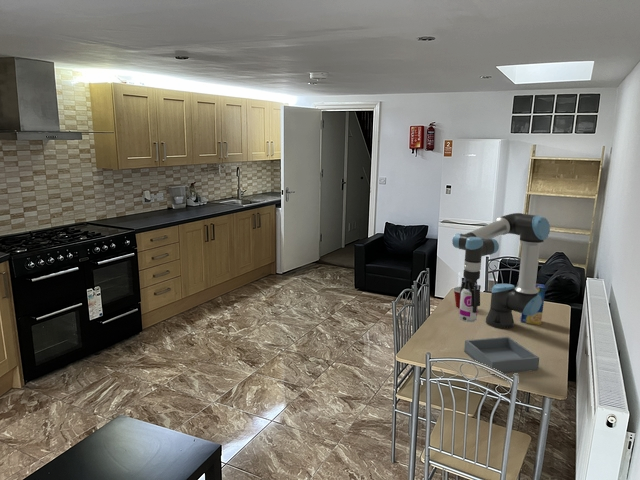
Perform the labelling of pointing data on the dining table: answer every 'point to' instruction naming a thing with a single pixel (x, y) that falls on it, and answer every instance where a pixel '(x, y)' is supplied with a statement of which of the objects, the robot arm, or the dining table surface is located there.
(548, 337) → the dining table surface
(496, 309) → the robot arm
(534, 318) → the beverage box
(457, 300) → the plastic cup
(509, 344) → the tray
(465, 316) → the supplement can
